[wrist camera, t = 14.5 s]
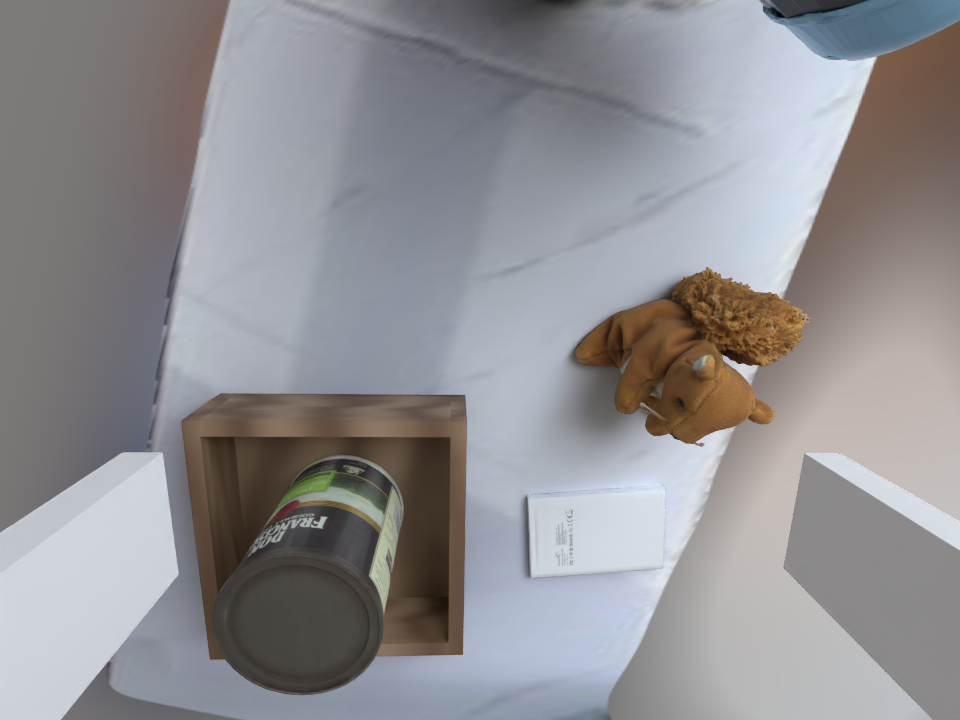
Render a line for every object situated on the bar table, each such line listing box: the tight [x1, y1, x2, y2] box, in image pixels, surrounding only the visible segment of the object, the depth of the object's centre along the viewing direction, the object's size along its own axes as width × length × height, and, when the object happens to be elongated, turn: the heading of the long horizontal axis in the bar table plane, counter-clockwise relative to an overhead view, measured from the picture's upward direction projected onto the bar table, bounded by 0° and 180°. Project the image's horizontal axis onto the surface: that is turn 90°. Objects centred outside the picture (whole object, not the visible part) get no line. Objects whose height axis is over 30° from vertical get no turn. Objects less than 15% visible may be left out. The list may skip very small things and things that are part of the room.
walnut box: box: [181, 394, 467, 659], centre depth 43 cm, size 20×20×6 cm
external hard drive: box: [527, 485, 666, 578], centre depth 48 cm, size 2×8×12 cm
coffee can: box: [212, 455, 404, 695], centre depth 38 cm, size 10×10×14 cm
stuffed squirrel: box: [575, 267, 810, 446], centre depth 38 cm, size 10×14×13 cm
